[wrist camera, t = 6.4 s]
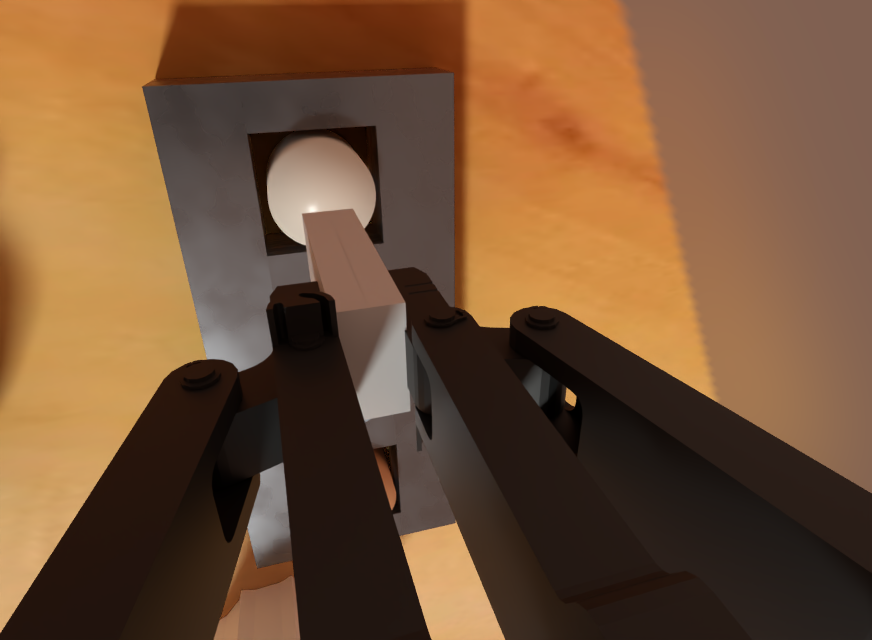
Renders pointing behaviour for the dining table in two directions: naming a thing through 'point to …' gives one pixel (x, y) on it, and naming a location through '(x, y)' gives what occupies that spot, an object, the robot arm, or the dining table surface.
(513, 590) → the robot arm
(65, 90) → the dining table surface
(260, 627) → the cup
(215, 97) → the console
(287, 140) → the button cream
